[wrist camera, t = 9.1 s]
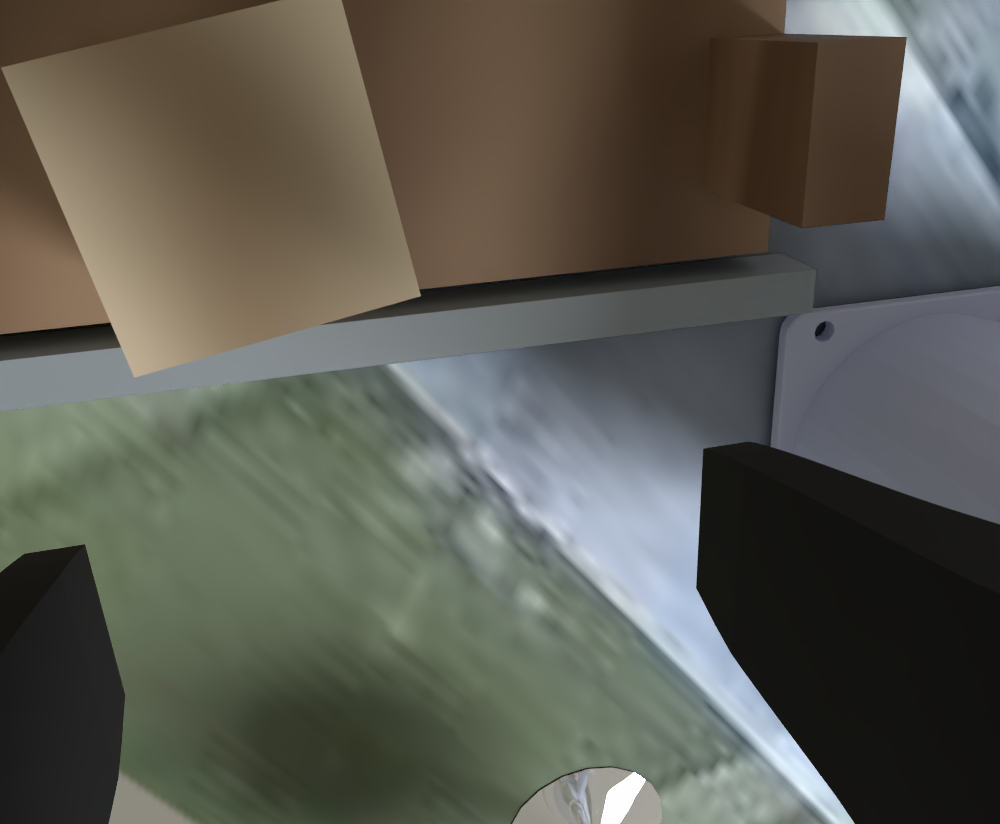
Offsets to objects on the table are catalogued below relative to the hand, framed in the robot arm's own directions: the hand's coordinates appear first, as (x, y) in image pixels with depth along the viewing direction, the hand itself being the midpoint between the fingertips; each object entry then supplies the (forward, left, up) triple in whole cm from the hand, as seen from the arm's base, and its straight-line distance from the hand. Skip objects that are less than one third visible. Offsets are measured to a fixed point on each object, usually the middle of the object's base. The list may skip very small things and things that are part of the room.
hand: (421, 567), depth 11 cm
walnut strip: (-1, -4, -10) cm, 11 cm away
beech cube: (+2, -4, -9) cm, 10 cm away
